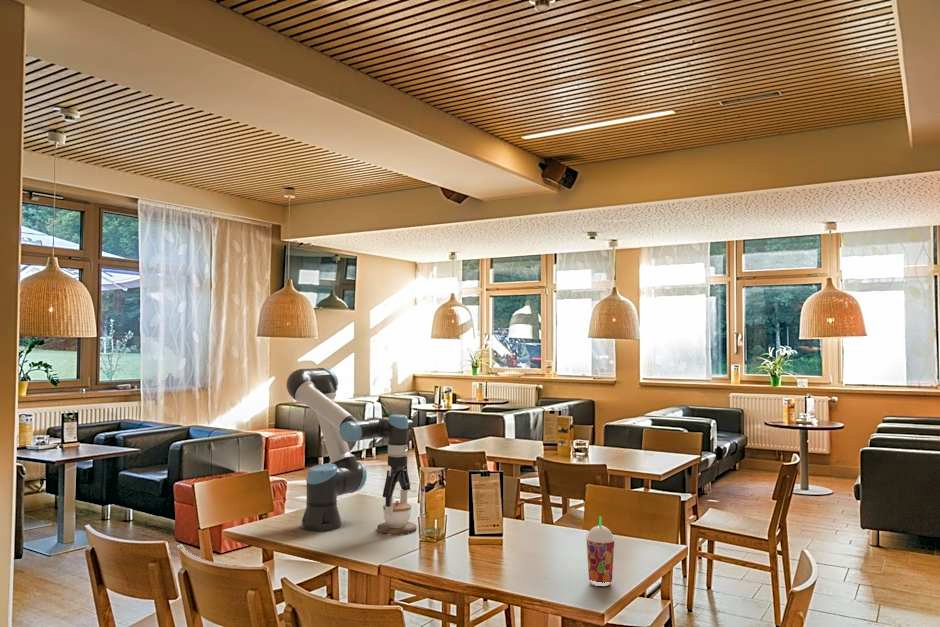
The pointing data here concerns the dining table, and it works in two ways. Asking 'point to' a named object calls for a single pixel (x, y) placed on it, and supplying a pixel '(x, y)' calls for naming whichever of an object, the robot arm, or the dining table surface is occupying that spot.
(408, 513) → the lidded jar
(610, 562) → the smoothie
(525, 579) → the dining table surface
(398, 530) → the stand
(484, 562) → the dining table surface
